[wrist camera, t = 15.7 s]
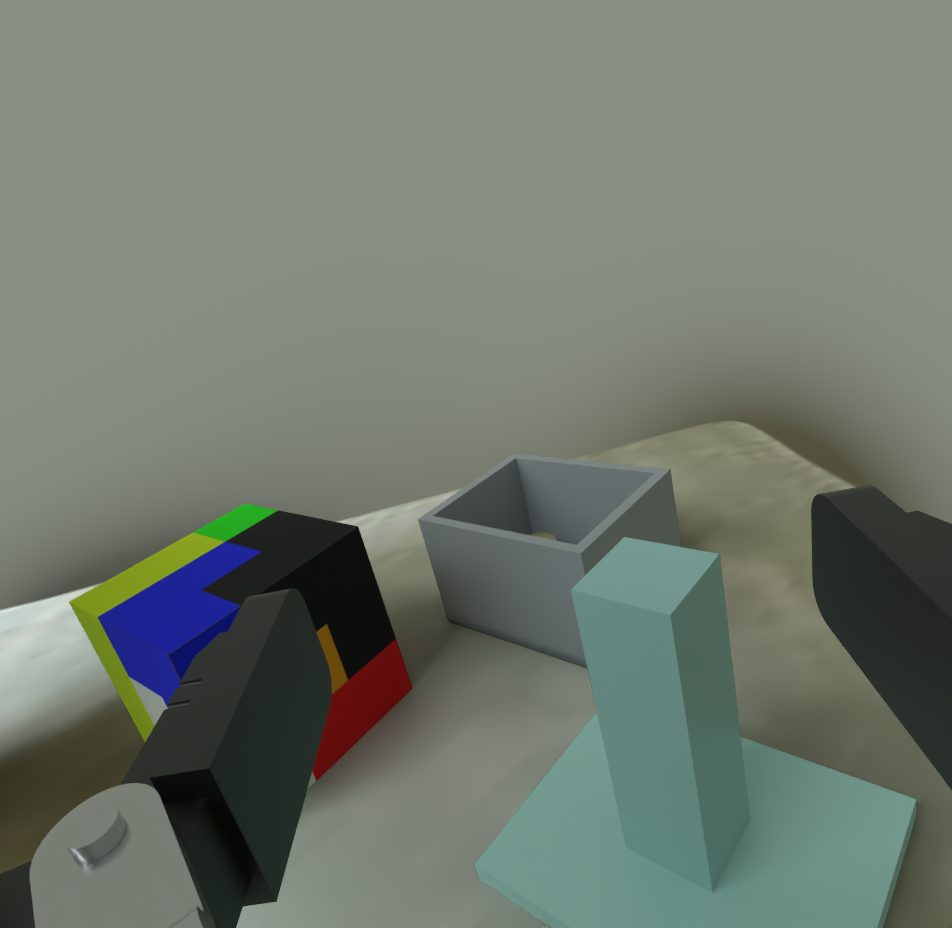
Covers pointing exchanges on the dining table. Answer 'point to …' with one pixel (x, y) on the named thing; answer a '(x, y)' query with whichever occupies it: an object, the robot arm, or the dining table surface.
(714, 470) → the dining table surface
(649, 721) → the lid
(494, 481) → the tub
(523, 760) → the dining table surface
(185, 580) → the puzzle toy
